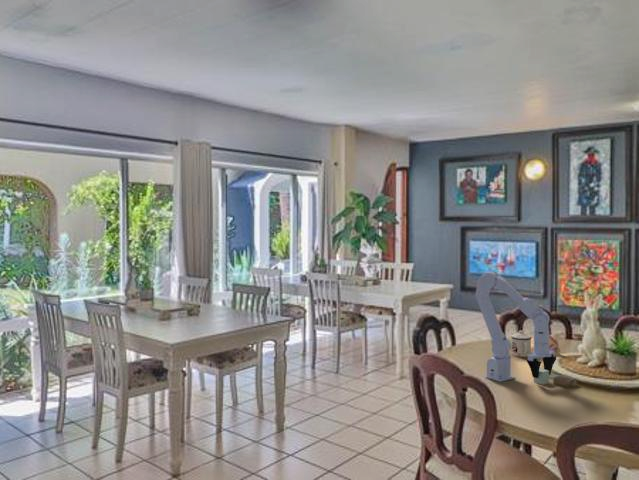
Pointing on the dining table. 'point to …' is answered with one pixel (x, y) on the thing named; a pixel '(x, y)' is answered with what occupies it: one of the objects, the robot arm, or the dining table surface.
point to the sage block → (542, 377)
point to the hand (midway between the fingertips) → (541, 375)
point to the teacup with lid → (521, 344)
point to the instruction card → (553, 375)
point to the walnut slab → (564, 381)
